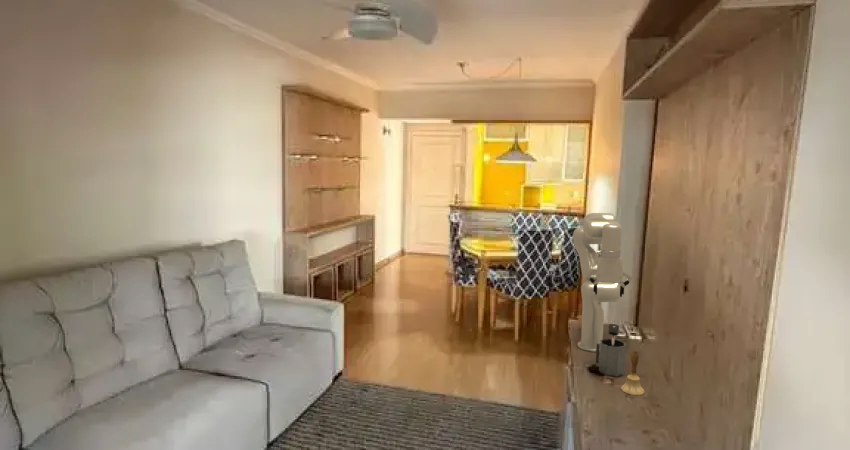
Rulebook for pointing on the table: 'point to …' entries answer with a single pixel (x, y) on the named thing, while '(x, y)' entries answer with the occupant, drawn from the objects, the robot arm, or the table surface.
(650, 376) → the table surface
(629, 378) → the hand bell
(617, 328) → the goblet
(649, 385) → the table surface
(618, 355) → the grey octagonal cup
